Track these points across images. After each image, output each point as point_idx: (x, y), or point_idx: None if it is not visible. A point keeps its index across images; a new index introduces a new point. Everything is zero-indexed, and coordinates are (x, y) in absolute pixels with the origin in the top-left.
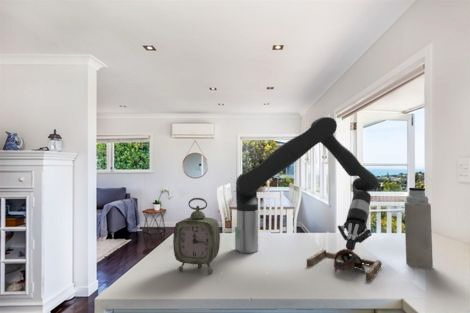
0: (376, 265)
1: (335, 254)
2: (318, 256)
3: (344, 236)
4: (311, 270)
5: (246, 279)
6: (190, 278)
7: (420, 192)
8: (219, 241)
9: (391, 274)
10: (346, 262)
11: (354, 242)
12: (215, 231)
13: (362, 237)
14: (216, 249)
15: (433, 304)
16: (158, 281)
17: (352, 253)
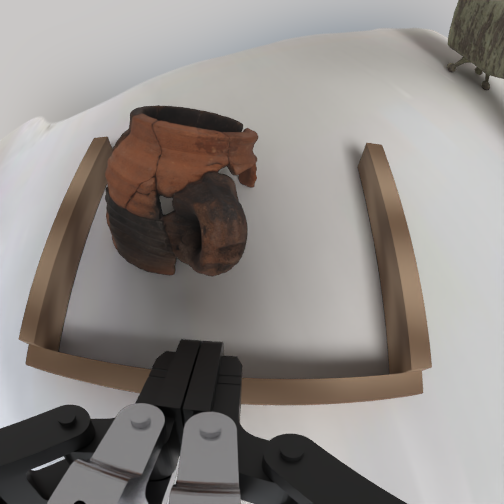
0: (47, 239)
1: (250, 133)
2: (387, 240)
3: (287, 439)
4: (330, 142)
5: (395, 64)
6: (444, 59)
7: None
8: (487, 40)
9: (16, 281)
10: (177, 107)
11: (139, 398)
12: (474, 4)
13: (25, 427)
14: (467, 39)
15: (4, 144)
16: (451, 51)
17: (142, 112)
